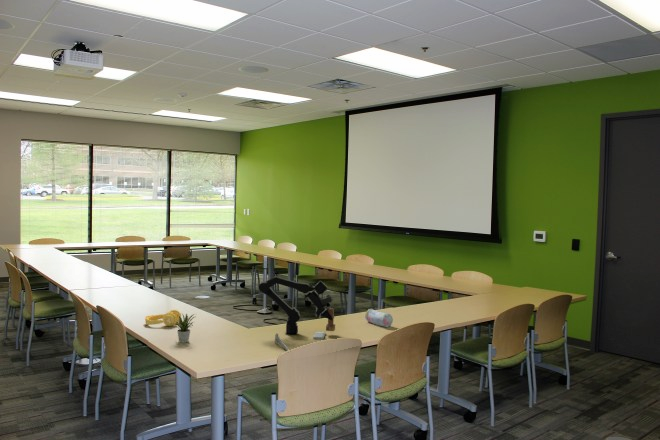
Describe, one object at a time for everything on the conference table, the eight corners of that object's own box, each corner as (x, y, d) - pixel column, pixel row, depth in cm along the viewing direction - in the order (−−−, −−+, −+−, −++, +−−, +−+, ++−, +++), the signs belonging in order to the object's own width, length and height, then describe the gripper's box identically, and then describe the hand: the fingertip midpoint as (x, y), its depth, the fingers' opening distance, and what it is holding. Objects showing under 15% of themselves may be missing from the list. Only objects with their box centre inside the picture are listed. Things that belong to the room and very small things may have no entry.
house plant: (203, 339, 298) (203, 310, 298) (191, 345, 285) (192, 315, 284) (180, 337, 302) (181, 309, 301) (168, 343, 288) (168, 314, 288)
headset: (150, 320, 342) (151, 306, 342) (182, 322, 342) (183, 308, 341) (140, 327, 324) (141, 312, 324) (174, 328, 324) (174, 314, 324)
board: (313, 338, 304) (313, 336, 304) (315, 333, 317) (315, 331, 317) (323, 339, 304) (323, 337, 304) (325, 333, 317) (325, 331, 316)
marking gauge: (325, 331, 311) (326, 309, 310) (326, 328, 316) (327, 307, 316) (334, 331, 310) (334, 309, 310) (335, 329, 316) (335, 308, 315)
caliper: (274, 344, 292) (274, 333, 292) (276, 343, 293) (276, 332, 293) (289, 353, 274) (289, 341, 274) (291, 353, 275) (291, 341, 275)
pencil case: (364, 322, 351) (364, 308, 351) (374, 320, 356) (374, 307, 356) (383, 328, 334) (383, 314, 333) (393, 327, 338) (394, 312, 338)
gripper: (321, 293, 305) (339, 313, 303) (328, 288, 323) (345, 307, 321) (308, 305, 307) (326, 325, 305) (316, 300, 325) (332, 319, 323)
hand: (333, 319), depth 313 cm, fingers closed on marking gauge, 3 cm apart
